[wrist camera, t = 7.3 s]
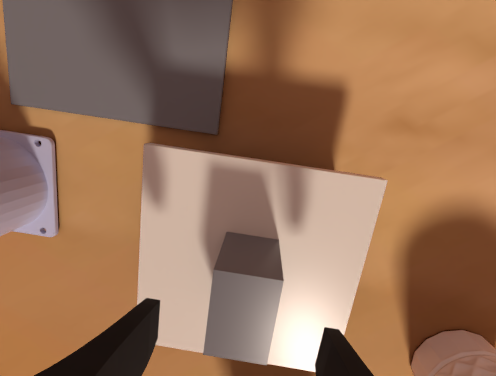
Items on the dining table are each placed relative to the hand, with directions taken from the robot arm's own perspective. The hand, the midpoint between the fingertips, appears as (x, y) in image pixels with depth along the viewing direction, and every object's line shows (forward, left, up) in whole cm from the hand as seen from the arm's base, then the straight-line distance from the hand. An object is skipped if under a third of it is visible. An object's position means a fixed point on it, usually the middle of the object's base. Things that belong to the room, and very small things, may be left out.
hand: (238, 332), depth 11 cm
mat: (-11, +15, -10) cm, 21 cm away
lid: (0, 0, -5) cm, 5 cm away
